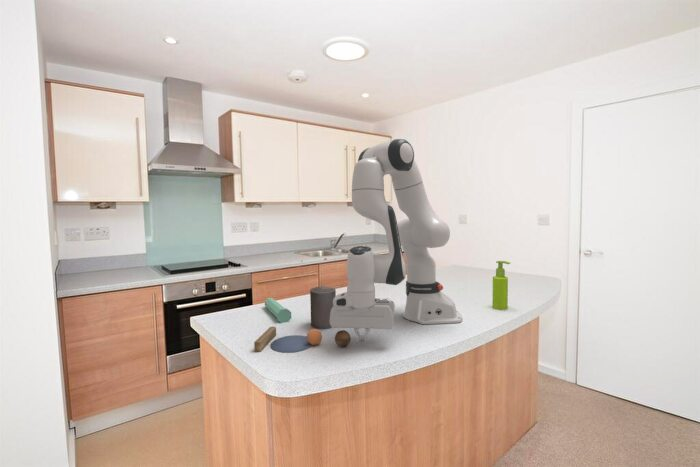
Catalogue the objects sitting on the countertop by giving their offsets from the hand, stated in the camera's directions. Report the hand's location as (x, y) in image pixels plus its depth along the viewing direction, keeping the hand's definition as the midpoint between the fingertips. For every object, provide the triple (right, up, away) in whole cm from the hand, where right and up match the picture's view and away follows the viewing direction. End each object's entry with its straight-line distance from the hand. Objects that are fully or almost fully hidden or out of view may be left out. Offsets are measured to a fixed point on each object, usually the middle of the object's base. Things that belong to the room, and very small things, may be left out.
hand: (362, 341), depth 112 cm
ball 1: (-15, +1, +2) cm, 16 cm away
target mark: (-23, -2, +3) cm, 23 cm away
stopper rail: (-32, -2, +5) cm, 32 cm away
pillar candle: (-14, -1, +21) cm, 25 cm away
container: (-35, 0, +36) cm, 50 cm away
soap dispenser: (+60, +2, +37) cm, 71 cm away
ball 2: (-6, +1, 0) cm, 6 cm away
